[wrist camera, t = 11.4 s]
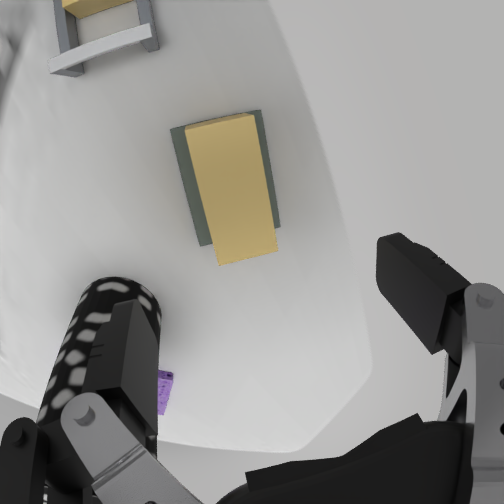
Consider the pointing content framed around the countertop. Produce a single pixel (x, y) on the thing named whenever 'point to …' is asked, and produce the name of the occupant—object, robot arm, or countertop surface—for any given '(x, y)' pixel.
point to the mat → (192, 185)
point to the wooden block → (232, 186)
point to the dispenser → (72, 55)
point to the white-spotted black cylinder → (80, 344)
